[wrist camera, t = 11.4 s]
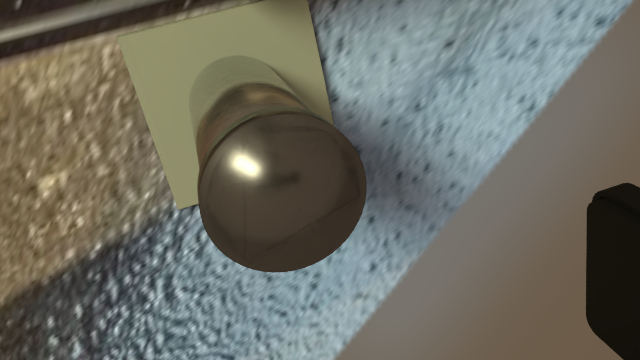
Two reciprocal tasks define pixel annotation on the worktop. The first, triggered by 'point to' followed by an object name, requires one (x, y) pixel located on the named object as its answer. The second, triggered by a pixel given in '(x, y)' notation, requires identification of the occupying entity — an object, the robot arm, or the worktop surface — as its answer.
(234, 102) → the grey cylindrical piece
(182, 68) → the mat
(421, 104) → the worktop surface
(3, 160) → the worktop surface
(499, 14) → the worktop surface
